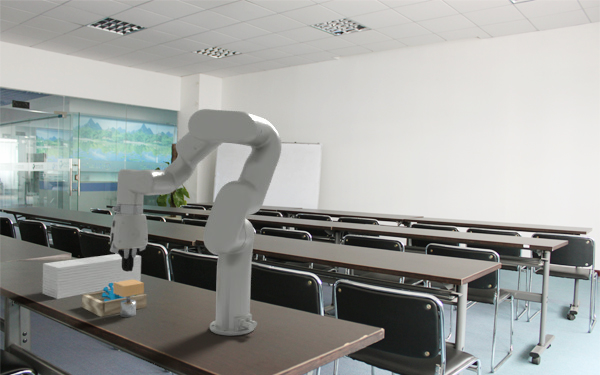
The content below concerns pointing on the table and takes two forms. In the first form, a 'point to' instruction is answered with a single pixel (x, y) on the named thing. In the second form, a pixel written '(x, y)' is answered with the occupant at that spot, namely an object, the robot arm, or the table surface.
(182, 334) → the table surface
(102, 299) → the chassis bay
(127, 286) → the block
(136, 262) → the stack of papers
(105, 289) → the gear
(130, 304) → the silver metal rounded piece
